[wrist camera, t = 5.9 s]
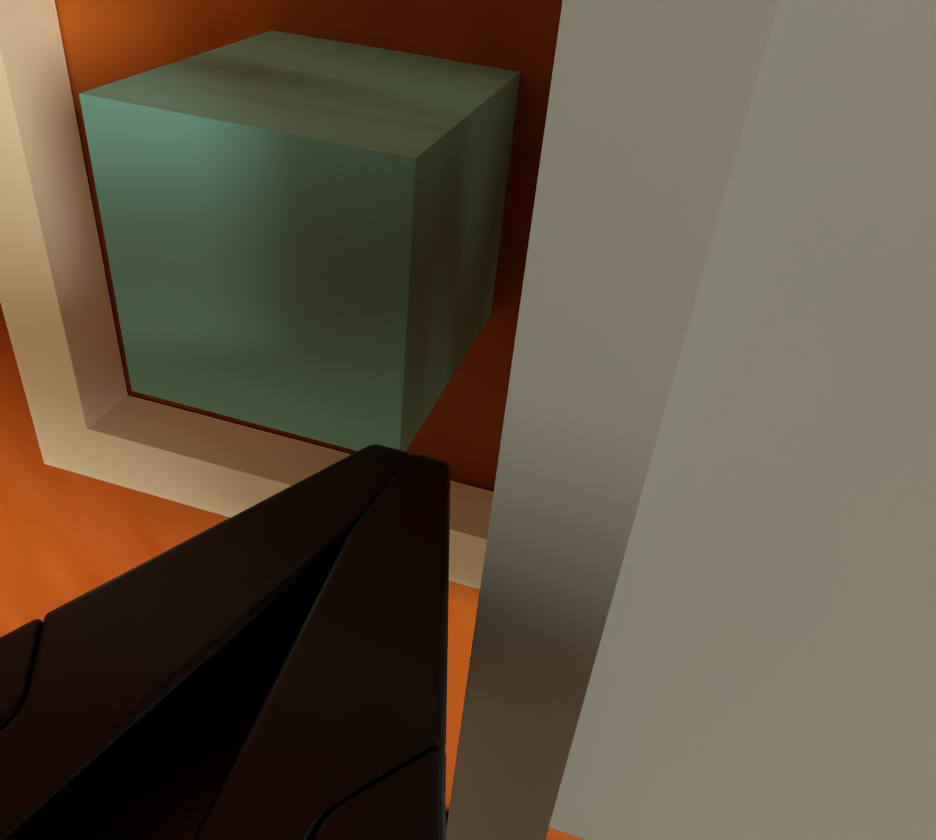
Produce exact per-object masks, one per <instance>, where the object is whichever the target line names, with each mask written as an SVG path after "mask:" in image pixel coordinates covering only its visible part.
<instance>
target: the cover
mask: <svg viewBox="0 0 936 840" xmlns="http://www.w3.org/2000/svg"><path fill="white" fill-rule="evenodd" d="M548 827H549V828H552V829H555V830H558V831H561V832H564V833H567V834H570V835H573V836H576V837H579V838H582V839H585V840H936V0H563V1H562V8H561V16H560V23H559V30H558V37H557V44H556V51H555V58H554V65H553V73H552V80H551V87H550V94H549V101H548V108H547V115H546V123H545V130H544V137H543V144H542V151H541V158H540V165H539V173H538V180H537V187H536V194H535V201H534V208H533V215H532V222H531V230H530V237H529V244H528V251H527V258H526V265H525V272H524V280H523V287H522V294H521V301H520V308H519V315H518V322H517V329H516V337H515V344H514V351H513V358H512V365H511V372H510V379H509V387H508V394H507V401H506V408H505V415H504V422H503V429H502V436H501V444H500V451H499V458H498V465H497V472H496V479H495V486H494V494H493V501H492V508H491V515H490V522H489V529H488V536H487V543H486V551H485V558H484V565H483V572H482V579H481V586H480V593H479V601H478V608H477V615H476V622H475V629H474V636H473V643H472V651H471V658H470V665H469V672H468V679H467V686H466V693H465V700H464V708H463V715H462V722H461V729H460V736H459V743H458V750H457V758H456V765H455V772H454V779H453V786H452V793H451V800H450V807H449V815H448V822H447V829H446V840H545V838H546V835H547V831H548Z"/></svg>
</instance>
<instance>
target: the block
mask: <svg viewBox="0 0 936 840" xmlns="http://www.w3.org/2000/svg"><path fill="white" fill-rule="evenodd" d="M519 80H520V71H514V70H508V69H502V68H496V67H490V66H484V65H478V64H472V63H466V62H460V61H454V60H448V59H442V58H436V57H430V56H424V55H418V54H412V53H406V52H400V51H394V50H388V49H382V48H376V47H370V46H364V45H358V44H352V43H346V42H340V41H334V40H328V39H322V38H316V37H310V36H304V35H298V34H292V33H286V32H280V31H274V30H271V31H268V32H265V33H262V34H259V35H256V36H253V37H250V38H247V39H244V40H240V41H237V42H234V43H231V44H228V45H225V46H222V47H219V48H216V49H213V50H210V51H207V52H204V53H201V54H198V55H195V56H192V57H189V58H186V59H183V60H179V61H176V62H173V63H170V64H167V65H164V66H161V67H158V68H155V69H152V70H149V71H146V72H143V73H140V74H137V75H134V76H131V77H128V78H125V79H122V80H118V81H115V82H112V83H109V84H106V85H103V86H100V87H97V88H94V89H91V90H88V91H85V92H82V93H79V97H80V102H81V108H82V114H83V119H84V125H85V131H86V136H87V142H88V147H89V153H90V159H91V164H92V170H93V176H94V181H95V187H96V192H97V198H98V204H99V209H100V215H101V221H102V226H103V232H104V237H105V243H106V249H107V254H108V260H109V266H110V271H111V277H112V282H113V288H114V294H115V299H116V305H117V311H118V316H119V322H120V328H121V333H122V339H123V344H124V350H125V356H126V361H127V367H128V373H129V378H130V384H131V389H132V391H135V392H138V393H142V394H146V395H149V396H153V397H157V398H161V399H164V400H168V401H172V402H176V403H179V404H183V405H187V406H191V407H194V408H198V409H202V410H206V411H209V412H213V413H217V414H221V415H224V416H228V417H232V418H236V419H239V420H243V421H247V422H251V423H254V424H258V425H262V426H266V427H269V428H273V429H277V430H281V431H284V432H288V433H292V434H296V435H299V436H303V437H307V438H311V439H314V440H318V441H322V442H326V443H329V444H333V445H337V446H341V447H344V448H348V449H352V450H356V451H359V450H361V449H363V448H365V447H367V446H369V445H373V444H376V445H382V446H386V447H390V448H394V449H398V450H402V451H407V449H408V447H409V446H410V444H411V442H412V441H413V439H414V438H415V436H416V434H417V433H418V431H419V430H420V428H421V426H422V425H423V423H424V421H425V420H426V418H427V417H428V415H429V413H430V412H431V410H432V408H433V407H434V405H435V404H436V402H437V400H438V399H439V397H440V396H441V394H442V392H443V391H444V389H445V387H446V386H447V384H448V383H449V381H450V379H451V378H452V376H453V375H454V373H455V371H456V370H457V368H458V366H459V365H460V363H461V362H462V360H463V358H464V357H465V355H466V354H467V352H468V350H469V349H470V347H471V345H472V344H473V342H474V341H475V339H476V337H477V336H478V334H479V332H480V331H481V329H482V328H483V326H484V324H485V323H486V321H487V320H488V318H489V316H490V315H491V311H492V303H493V294H494V286H495V278H496V270H497V261H498V253H499V245H500V237H501V228H502V220H503V212H504V204H505V195H506V187H507V179H508V171H509V163H510V154H511V146H512V138H513V130H514V121H515V113H516V105H517V97H518V88H519Z"/></svg>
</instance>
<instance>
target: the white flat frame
mask: <svg viewBox="0 0 936 840" xmlns="http://www.w3.org/2000/svg"><path fill="white" fill-rule="evenodd" d="M0 303H1V307H2V311H3V314H4V318H5V322H6V325H7V329H8V332H9V336H10V340H11V343H12V347H13V351H14V354H15V358H16V362H17V365H18V369H19V373H20V376H21V380H22V384H23V387H24V391H25V395H26V398H27V402H28V406H29V409H30V413H31V417H32V420H33V424H34V428H35V431H36V435H37V439H38V442H39V446H40V450H41V453H42V457H43V461H44V464H47V465H50V466H54V467H57V468H61V469H64V470H67V471H71V472H74V473H78V474H81V475H85V476H88V477H92V478H95V479H99V480H102V481H106V482H109V483H112V484H116V485H119V486H123V487H126V488H130V489H133V490H137V491H140V492H144V493H147V494H150V495H154V496H157V497H161V498H164V499H168V500H171V501H175V502H178V503H182V504H185V505H189V506H192V507H195V508H199V509H202V510H206V511H209V512H213V513H216V514H220V515H223V516H227V517H230V518H231V517H233V516H234V515H236V514H238V513H240V512H242V511H244V510H246V509H248V508H250V507H252V506H254V505H256V504H257V503H259V502H261V501H263V500H265V499H267V498H269V497H271V496H273V495H275V494H277V493H279V492H280V491H282V490H284V489H286V488H288V487H290V486H292V485H294V484H296V483H298V482H300V481H301V480H303V479H305V478H307V477H309V476H311V475H313V474H315V473H317V472H319V471H321V470H323V469H324V468H326V467H328V466H330V465H332V464H334V463H336V462H338V461H340V460H342V459H344V458H346V457H347V456H349V455H351V454H349V453H345V452H341V451H337V450H334V449H330V448H326V447H322V446H318V445H315V444H311V443H307V442H303V441H300V440H296V439H292V438H288V437H284V436H281V435H277V434H273V433H269V432H266V431H262V430H258V429H254V428H250V427H247V426H243V425H239V424H235V423H232V422H228V421H224V420H220V419H216V418H213V417H209V416H205V415H201V414H198V413H194V412H190V411H186V410H182V409H179V408H175V407H171V406H167V405H164V404H160V403H156V402H152V401H148V400H145V399H141V398H137V397H133V396H130V395H128V394H127V389H126V383H125V378H124V372H123V367H122V362H121V356H120V351H119V346H118V340H117V335H116V329H115V324H114V319H113V313H112V308H111V302H110V297H109V292H108V286H107V281H106V276H105V270H104V265H103V259H102V254H101V249H100V243H99V238H98V232H97V227H96V222H95V216H94V211H93V205H92V200H91V195H90V189H89V184H88V179H87V173H86V168H85V162H84V157H83V152H82V146H81V141H80V135H79V130H78V125H77V119H76V114H75V108H74V103H73V98H72V92H71V87H70V82H69V76H68V71H67V65H66V60H65V55H64V49H63V44H62V38H61V33H60V28H59V22H58V17H57V11H56V6H55V1H54V0H0ZM493 494H494V492H492V491H488V490H485V489H481V488H477V487H473V486H469V485H466V484H462V483H458V482H454V481H451V480H450V536H449V581H452V582H455V583H458V584H462V585H465V586H469V587H472V588H476V589H479V590H480V586H481V579H482V572H483V565H484V558H485V551H486V543H487V536H488V529H489V522H490V515H491V508H492V501H493Z"/></svg>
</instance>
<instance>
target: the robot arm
mask: <svg viewBox="0 0 936 840" xmlns="http://www.w3.org/2000/svg"><path fill="white" fill-rule="evenodd" d="M450 480H451V469H450V465H449V464H448V463H447V462H445V461H441V460H437V459H433V458H429V457H425V456H421V455H417V454H414V455H410V454H409V453H408V452H406V451H402V450H398V449H394V448H390V447H386V446H382V445H376V444H373V445H369V446H367V447H365V448H363V449H361V450H359V451H357V452H355V453H353V454H351V455H349V456H347V457H346V458H344V459H342V460H340V461H338V462H336V463H334V464H332V465H330V466H328V467H326V468H324V469H323V470H321V471H319V472H317V473H315V474H313V475H311V476H309V477H307V478H305V479H303V480H301V481H300V482H298V483H296V484H294V485H292V486H290V487H288V488H286V489H284V490H282V491H280V492H279V493H277V494H275V495H273V496H271V497H269V498H267V499H265V500H263V501H261V502H259V503H257V504H256V505H254V506H252V507H250V508H248V509H246V510H244V511H242V512H240V513H238V514H236V515H234V516H233V517H231V518H229V519H227V520H225V521H223V522H221V523H219V524H217V525H215V526H213V527H212V528H210V529H208V530H206V531H204V532H202V533H200V534H198V535H196V536H194V537H192V538H190V539H189V540H187V541H185V542H183V543H181V544H179V545H177V546H175V547H173V548H171V549H169V550H167V551H166V552H164V553H162V554H160V555H158V556H156V557H154V558H152V559H150V560H148V561H146V562H145V563H143V564H141V565H139V566H137V567H135V568H133V569H131V570H129V571H127V572H125V573H123V574H122V575H120V576H118V577H116V578H114V579H112V580H110V581H108V582H106V583H104V584H102V585H100V586H99V587H97V588H95V589H93V590H91V591H89V592H87V593H85V594H83V595H81V596H79V597H78V598H76V599H74V600H72V601H70V602H68V603H66V604H64V605H62V606H60V607H58V608H56V609H55V610H53V611H51V612H49V613H47V614H46V616H45V618H44V622H43V621H42V620H40V619H35V620H33V621H31V622H29V623H27V624H25V625H23V626H21V627H19V628H17V629H16V630H14V631H12V632H10V633H8V634H6V635H4V636H2V637H0V840H446V829H447V822H448V817H446V808H445V791H446V754H445V746H446V705H447V649H448V592H449V536H450Z"/></svg>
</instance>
